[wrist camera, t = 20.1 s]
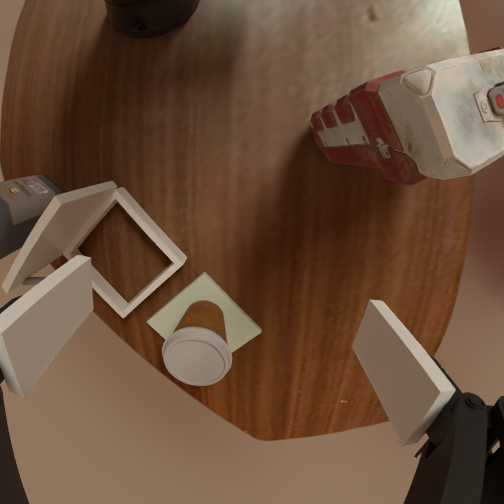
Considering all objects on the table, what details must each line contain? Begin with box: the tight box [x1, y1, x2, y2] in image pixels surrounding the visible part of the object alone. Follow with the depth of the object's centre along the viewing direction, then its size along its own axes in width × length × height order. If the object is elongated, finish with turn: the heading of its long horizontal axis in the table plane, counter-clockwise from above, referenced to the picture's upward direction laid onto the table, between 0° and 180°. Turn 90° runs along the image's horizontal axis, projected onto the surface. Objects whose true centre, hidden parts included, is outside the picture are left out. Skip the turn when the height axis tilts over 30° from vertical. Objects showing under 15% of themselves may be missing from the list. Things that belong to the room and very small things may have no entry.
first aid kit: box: [309, 46, 504, 186], centre depth 25 cm, size 23×8×30 cm, turn 118°
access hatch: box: [2, 181, 187, 318], centre depth 36 cm, size 16×16×18 cm
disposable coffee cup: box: [162, 300, 232, 386], centre depth 42 cm, size 10×10×12 cm
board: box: [147, 272, 262, 353], centre depth 49 cm, size 14×14×1 cm
